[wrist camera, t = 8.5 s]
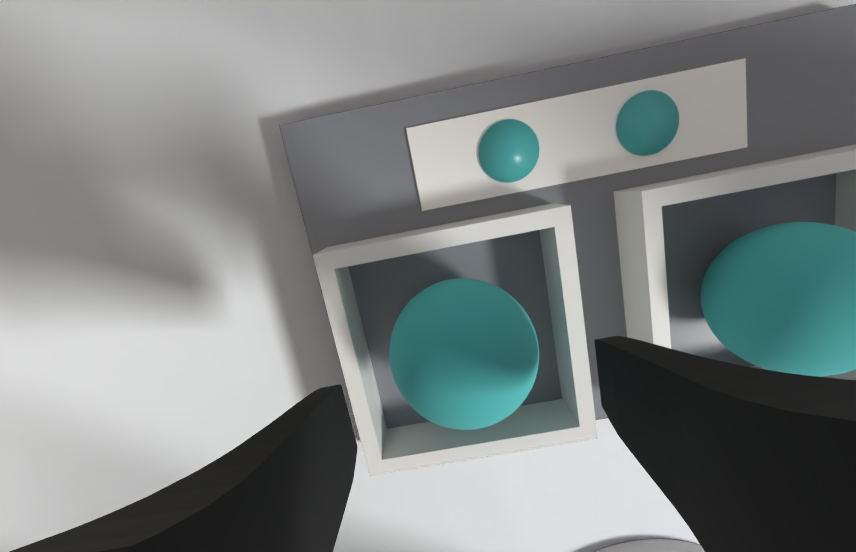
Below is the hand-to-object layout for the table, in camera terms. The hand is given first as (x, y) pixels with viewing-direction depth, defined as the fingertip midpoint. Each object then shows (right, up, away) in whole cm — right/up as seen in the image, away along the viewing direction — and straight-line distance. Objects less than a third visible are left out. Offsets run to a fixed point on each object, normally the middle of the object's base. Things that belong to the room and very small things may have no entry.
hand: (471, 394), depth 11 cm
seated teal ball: (+11, +3, +4) cm, 12 cm away
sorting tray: (+5, +4, +5) cm, 8 cm away
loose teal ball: (0, +1, +5) cm, 5 cm away
